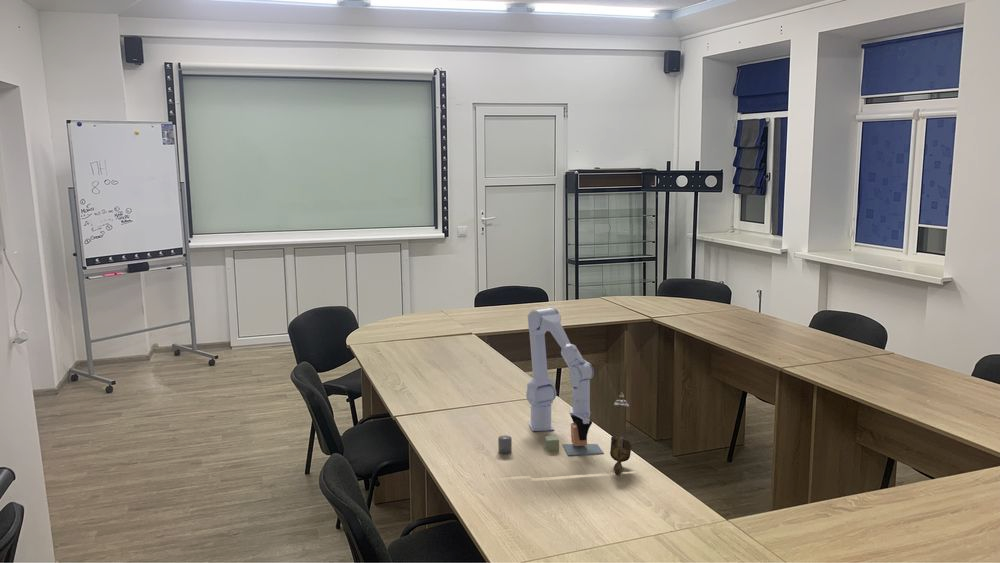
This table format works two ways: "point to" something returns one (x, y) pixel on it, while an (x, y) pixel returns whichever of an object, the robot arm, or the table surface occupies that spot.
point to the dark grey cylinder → (505, 444)
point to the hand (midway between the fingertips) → (580, 437)
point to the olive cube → (552, 443)
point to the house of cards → (621, 402)
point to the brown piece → (620, 452)
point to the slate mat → (582, 449)
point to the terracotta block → (576, 436)
